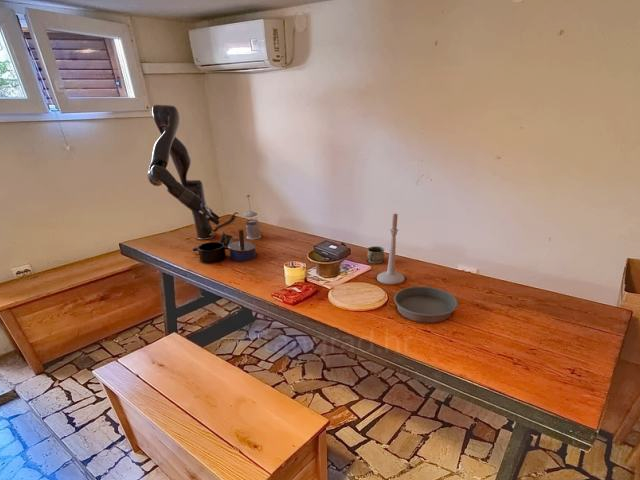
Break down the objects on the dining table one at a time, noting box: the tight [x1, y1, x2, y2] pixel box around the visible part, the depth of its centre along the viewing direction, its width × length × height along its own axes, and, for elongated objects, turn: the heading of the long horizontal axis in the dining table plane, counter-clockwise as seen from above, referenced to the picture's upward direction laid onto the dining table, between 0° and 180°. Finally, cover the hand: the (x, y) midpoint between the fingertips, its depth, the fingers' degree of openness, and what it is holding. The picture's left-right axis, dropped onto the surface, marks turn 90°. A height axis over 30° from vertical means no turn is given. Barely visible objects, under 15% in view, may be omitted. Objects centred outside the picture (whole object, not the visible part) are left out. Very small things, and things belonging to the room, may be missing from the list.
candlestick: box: [376, 213, 405, 285], centre depth 163 cm, size 13×13×30 cm
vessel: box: [366, 245, 385, 264], centre depth 189 cm, size 12×9×6 cm
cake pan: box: [393, 285, 459, 324], centre depth 146 cm, size 25×25×4 cm
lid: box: [228, 228, 256, 251], centre depth 195 cm, size 15×15×10 cm
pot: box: [192, 241, 229, 265], centre depth 196 cm, size 14×19×7 cm
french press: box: [243, 194, 262, 240], centre depth 220 cm, size 10×12×25 cm
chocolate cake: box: [219, 230, 235, 246], centre depth 216 cm, size 10×7×12 cm
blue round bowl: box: [228, 248, 257, 262], centre depth 199 cm, size 14×14×5 cm
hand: (218, 221), depth 187 cm, fingers open, 8 cm apart
